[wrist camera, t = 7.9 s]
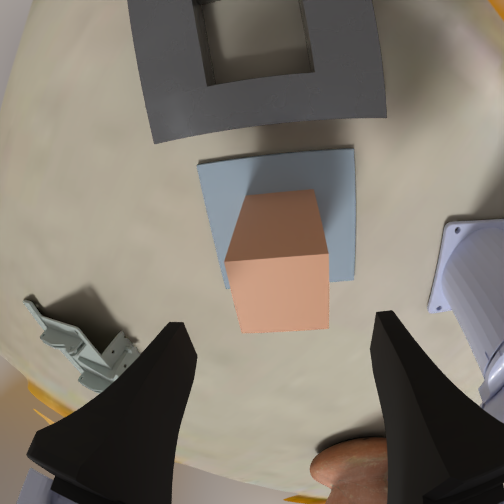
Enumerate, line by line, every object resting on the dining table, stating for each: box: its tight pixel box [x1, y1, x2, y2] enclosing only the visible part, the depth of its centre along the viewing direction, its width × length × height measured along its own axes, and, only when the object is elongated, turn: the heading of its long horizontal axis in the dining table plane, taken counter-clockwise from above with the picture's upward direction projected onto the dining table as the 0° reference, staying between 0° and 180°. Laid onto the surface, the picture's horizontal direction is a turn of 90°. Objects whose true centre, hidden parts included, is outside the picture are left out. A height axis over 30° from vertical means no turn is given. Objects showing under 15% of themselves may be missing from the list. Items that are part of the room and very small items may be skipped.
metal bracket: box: [23, 300, 140, 393], centre depth 28 cm, size 14×6×15 cm
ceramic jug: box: [310, 437, 388, 504], centre depth 30 cm, size 18×14×14 cm
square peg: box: [224, 189, 329, 333], centre depth 15 cm, size 4×4×7 cm
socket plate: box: [127, 0, 387, 144], centre depth 12 cm, size 12×10×2 cm
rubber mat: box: [197, 148, 356, 289], centre depth 19 cm, size 9×9×1 cm
